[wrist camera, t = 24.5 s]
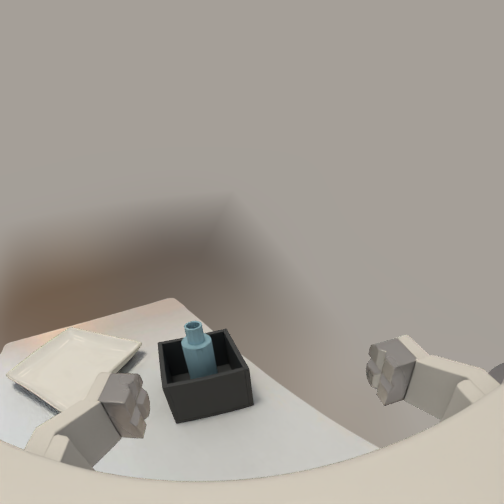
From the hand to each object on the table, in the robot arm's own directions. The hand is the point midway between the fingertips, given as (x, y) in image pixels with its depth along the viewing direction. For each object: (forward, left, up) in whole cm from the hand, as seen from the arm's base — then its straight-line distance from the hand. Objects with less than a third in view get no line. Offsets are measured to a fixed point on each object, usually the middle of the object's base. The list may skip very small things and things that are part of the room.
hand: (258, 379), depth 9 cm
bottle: (0, -33, -29) cm, 44 cm away
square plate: (+30, -46, -30) cm, 63 cm away
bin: (0, -33, -30) cm, 45 cm away
